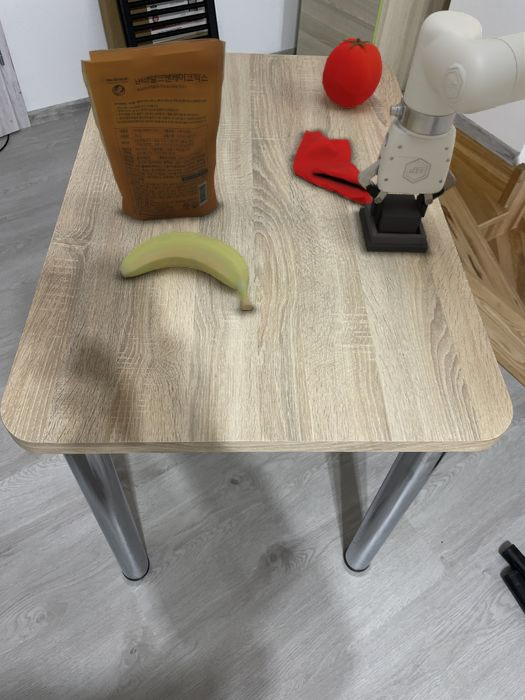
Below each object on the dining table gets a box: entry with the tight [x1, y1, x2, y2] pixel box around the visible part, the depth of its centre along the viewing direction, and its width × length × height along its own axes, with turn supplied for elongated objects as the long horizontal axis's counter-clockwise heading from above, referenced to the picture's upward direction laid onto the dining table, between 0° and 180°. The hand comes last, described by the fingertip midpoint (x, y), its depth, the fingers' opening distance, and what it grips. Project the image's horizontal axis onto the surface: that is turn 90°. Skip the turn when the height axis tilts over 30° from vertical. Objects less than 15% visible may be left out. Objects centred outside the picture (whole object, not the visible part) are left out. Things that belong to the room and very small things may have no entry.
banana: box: [118, 231, 254, 311], centre depth 80 cm, size 14×6×20 cm
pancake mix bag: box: [80, 38, 227, 222], centre depth 81 cm, size 7×19×28 cm, turn 100°
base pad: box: [358, 202, 429, 254], centre depth 90 cm, size 10×10×3 cm
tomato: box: [321, 37, 383, 109], centre depth 112 cm, size 12×12×13 cm
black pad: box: [378, 193, 422, 233], centre depth 88 cm, size 6×6×3 cm
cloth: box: [292, 129, 373, 206], centre depth 101 cm, size 26×14×2 cm, turn 10°
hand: (395, 218), depth 89 cm, fingers closed on black pad, 6 cm apart
